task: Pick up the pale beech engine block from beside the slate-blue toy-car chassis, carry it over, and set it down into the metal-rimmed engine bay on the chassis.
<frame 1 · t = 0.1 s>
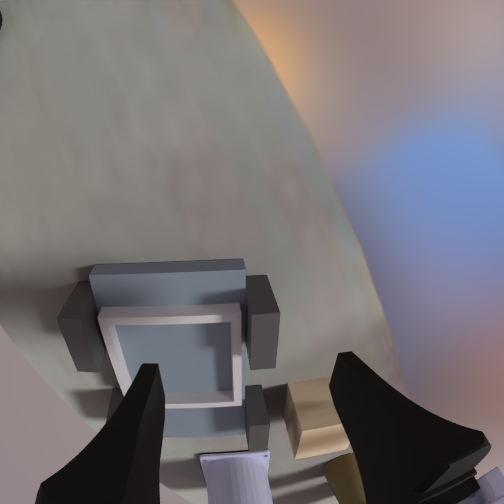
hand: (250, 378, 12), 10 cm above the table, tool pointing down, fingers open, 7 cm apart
cork: (341, 462, 37), on the table
engine block: (310, 396, 28), on the table
chassis: (180, 362, 24), on the table
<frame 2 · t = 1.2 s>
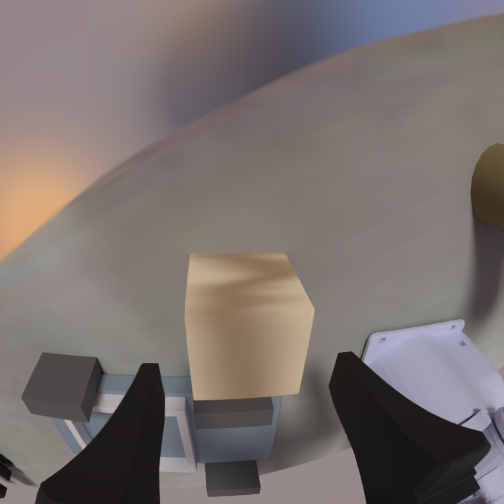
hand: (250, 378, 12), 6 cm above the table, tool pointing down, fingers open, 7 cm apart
cork: (495, 184, 17), on the table
engine block: (236, 293, 18), on the table
chassis: (158, 418, 22), on the table
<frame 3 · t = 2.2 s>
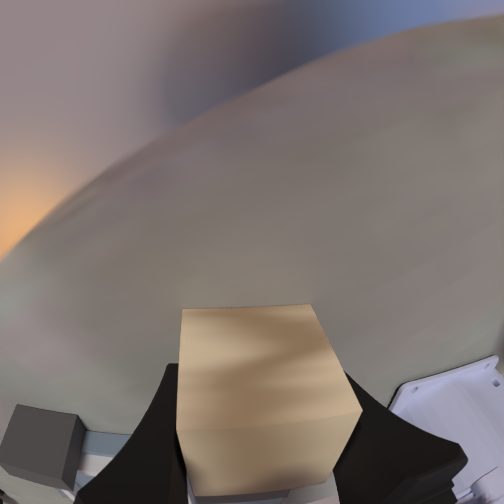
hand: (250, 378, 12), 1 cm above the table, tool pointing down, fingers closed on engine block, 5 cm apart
engine block: (245, 354, 13), on the table, touching gripper
chassis: (153, 471, 17), on the table
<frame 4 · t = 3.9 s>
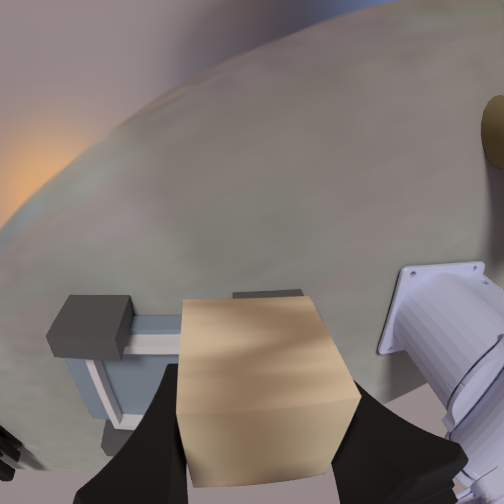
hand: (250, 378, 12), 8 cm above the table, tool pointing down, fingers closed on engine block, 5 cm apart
cork: (501, 132, 18), on the table
engine block: (245, 346, 14), point 7 cm above the table, touching gripper
chassis: (189, 368, 22), on the table
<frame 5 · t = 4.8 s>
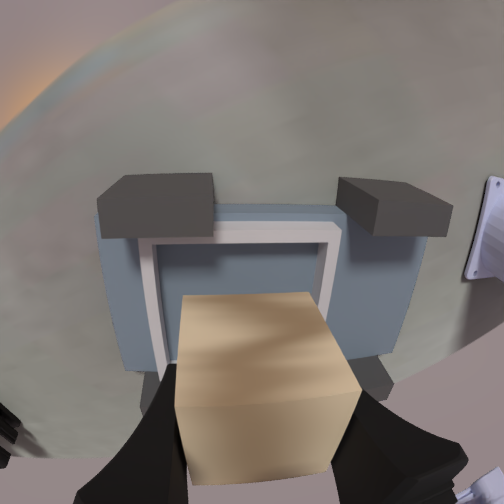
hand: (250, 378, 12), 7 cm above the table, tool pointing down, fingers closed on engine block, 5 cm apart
engine block: (245, 343, 14), point 5 cm above the table, touching gripper
chassis: (269, 288, 19), on the table
when the fingers open (5 cm above the table, at t = 5.6 s): engine block drops 1 cm, resting on chassis.
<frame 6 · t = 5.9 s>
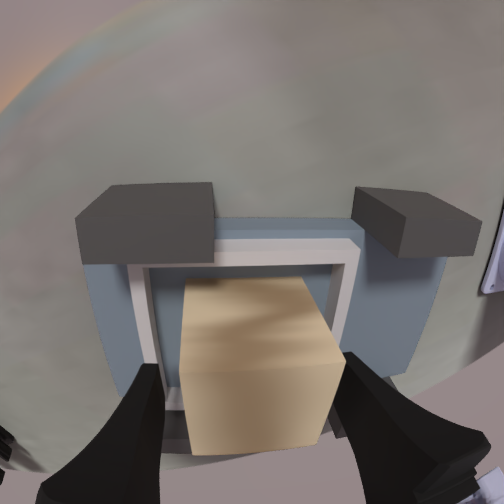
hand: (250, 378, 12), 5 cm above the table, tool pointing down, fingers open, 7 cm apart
engine block: (242, 324, 15), point 1 cm above the table, touching chassis
chassis: (276, 310, 17), on the table
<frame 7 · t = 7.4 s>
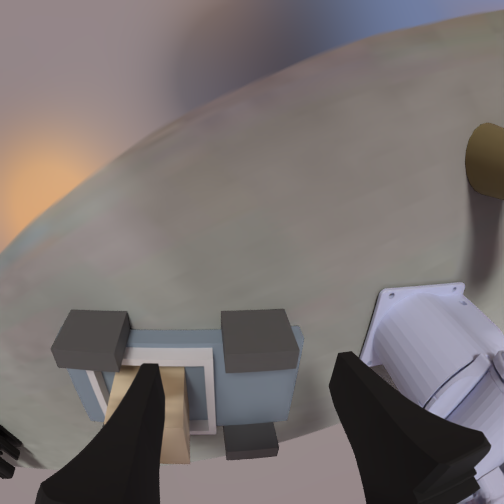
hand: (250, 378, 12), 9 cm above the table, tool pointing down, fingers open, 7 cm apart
cork: (486, 158, 20), on the table
engine block: (154, 388, 22), point 1 cm above the table, touching chassis
chassis: (180, 377, 24), on the table
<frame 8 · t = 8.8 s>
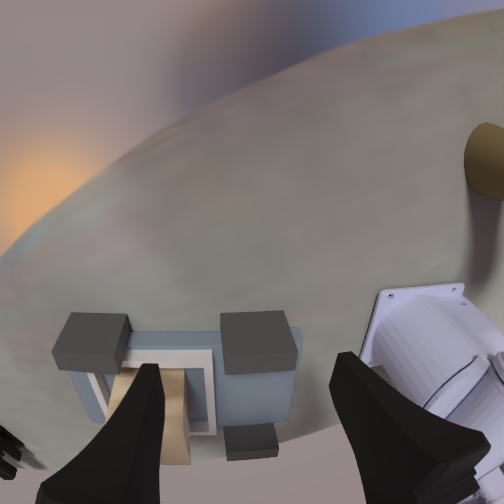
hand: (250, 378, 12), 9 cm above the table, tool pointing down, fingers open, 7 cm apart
cork: (485, 158, 20), on the table
engine block: (155, 389, 22), point 1 cm above the table, touching chassis
chassis: (181, 379, 24), on the table
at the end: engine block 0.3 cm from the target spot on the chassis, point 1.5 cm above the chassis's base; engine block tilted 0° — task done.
